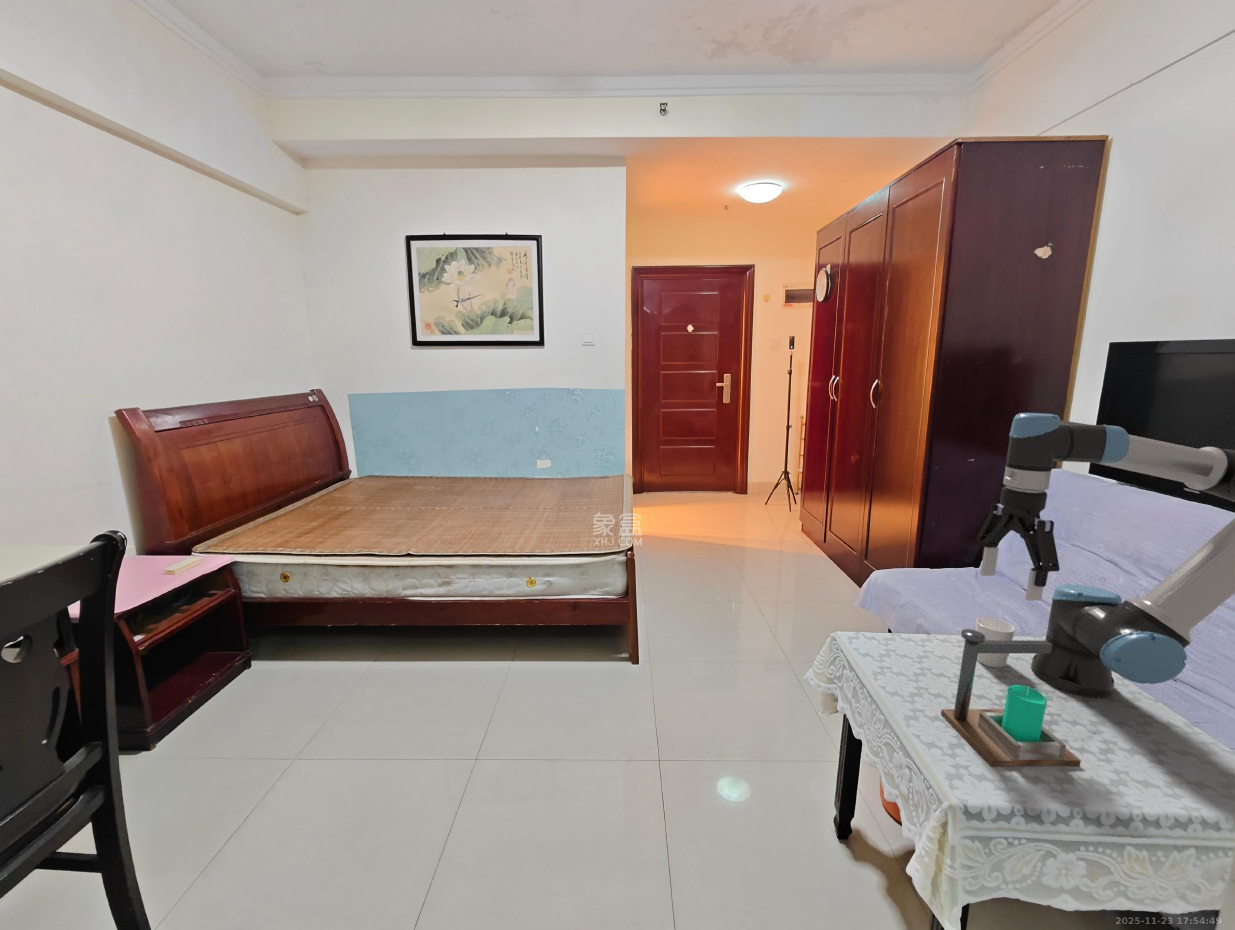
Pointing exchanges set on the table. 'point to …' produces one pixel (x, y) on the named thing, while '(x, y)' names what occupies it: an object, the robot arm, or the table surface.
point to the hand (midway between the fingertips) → (1009, 586)
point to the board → (1008, 741)
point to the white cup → (994, 631)
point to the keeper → (971, 649)
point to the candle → (1024, 713)
